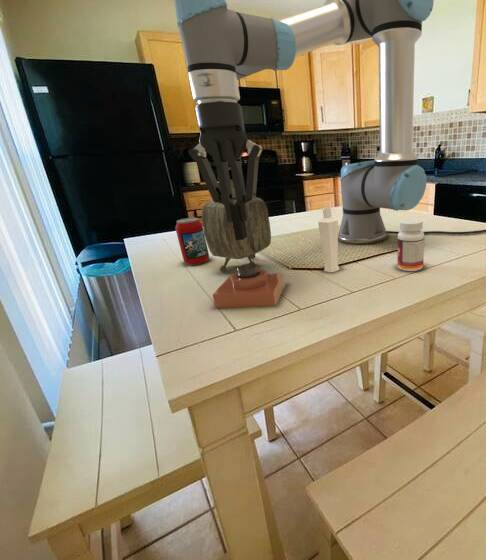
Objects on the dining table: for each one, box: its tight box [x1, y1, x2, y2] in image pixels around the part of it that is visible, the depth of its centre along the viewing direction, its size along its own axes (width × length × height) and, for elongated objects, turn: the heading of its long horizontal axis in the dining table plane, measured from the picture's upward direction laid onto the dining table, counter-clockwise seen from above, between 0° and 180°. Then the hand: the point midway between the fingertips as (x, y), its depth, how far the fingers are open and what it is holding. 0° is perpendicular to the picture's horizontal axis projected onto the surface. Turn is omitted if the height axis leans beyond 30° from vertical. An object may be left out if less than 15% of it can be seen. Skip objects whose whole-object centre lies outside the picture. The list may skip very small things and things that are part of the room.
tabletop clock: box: [201, 166, 272, 273], centre depth 84 cm, size 14×9×25 cm, turn 151°
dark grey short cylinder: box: [236, 263, 259, 278], centre depth 69 cm, size 4×4×2 cm
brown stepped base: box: [212, 267, 286, 309], centre depth 70 cm, size 12×10×5 cm
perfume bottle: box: [317, 207, 340, 273], centre depth 80 cm, size 5×4×15 cm
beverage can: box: [175, 217, 210, 266], centre depth 93 cm, size 7×7×12 cm
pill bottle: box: [397, 218, 425, 272], centre depth 79 cm, size 6×6×11 cm
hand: (241, 237), depth 66 cm, fingers closed
